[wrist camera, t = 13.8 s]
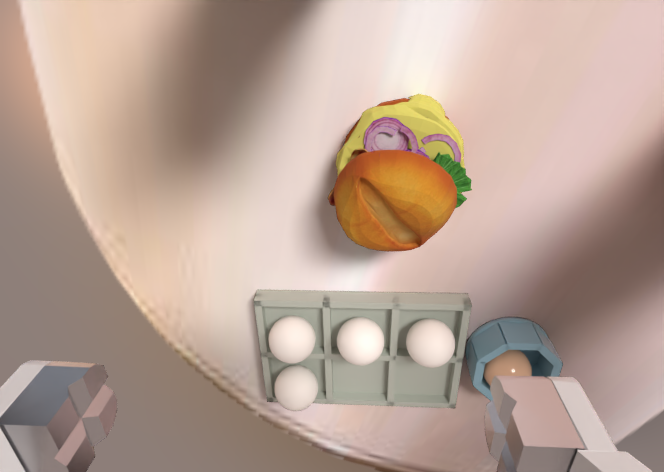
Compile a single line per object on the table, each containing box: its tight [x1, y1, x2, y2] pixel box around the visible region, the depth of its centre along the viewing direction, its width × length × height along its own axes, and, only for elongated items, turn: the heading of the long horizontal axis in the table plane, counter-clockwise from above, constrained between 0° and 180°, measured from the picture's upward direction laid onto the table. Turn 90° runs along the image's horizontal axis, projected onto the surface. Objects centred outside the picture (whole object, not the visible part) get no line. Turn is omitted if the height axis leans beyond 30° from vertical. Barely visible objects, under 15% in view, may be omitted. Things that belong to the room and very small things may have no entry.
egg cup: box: [465, 317, 563, 401], centre depth 44 cm, size 8×8×4 cm
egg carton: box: [254, 290, 472, 411], centre depth 45 cm, size 21×14×5 cm
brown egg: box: [483, 350, 532, 386], centre depth 43 cm, size 5×5×5 cm
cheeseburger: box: [328, 94, 472, 251], centre depth 34 cm, size 10×11×10 cm
